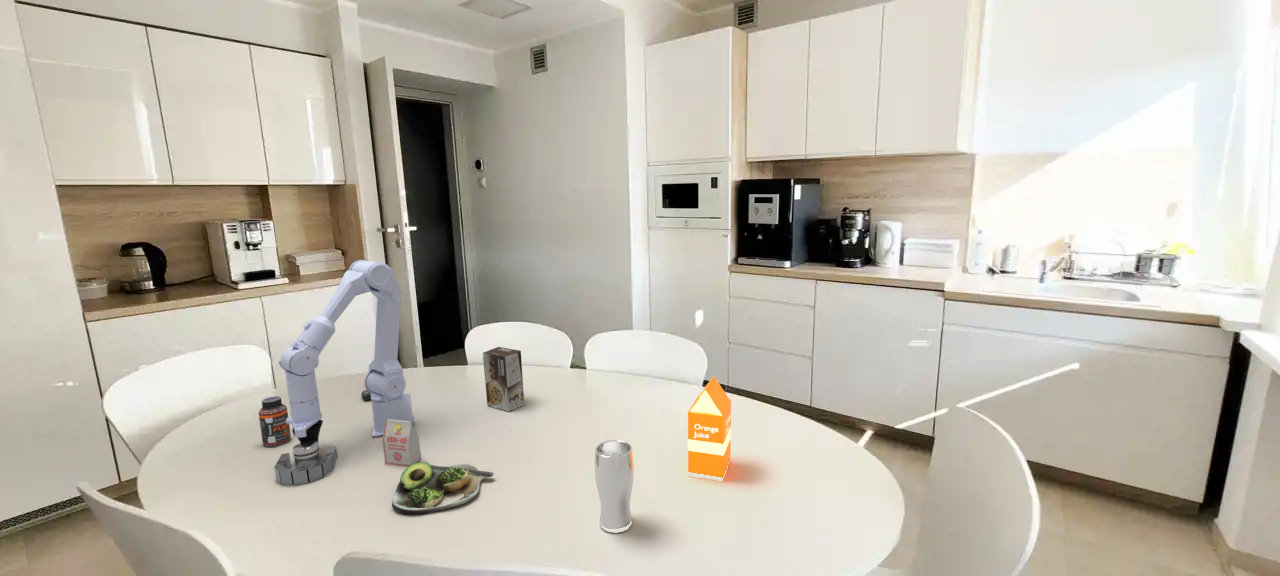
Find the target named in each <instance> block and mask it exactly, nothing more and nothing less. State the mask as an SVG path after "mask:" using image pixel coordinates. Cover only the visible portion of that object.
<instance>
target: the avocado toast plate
mask: <svg viewBox="0 0 1280 576" xmlns="http://www.w3.org/2000/svg"><path fill="white" fill-rule="evenodd" d="M493 476H494V472H493V471H492V472H491V471H484V470H479V469H478V468H477V467H476V466H475V465H471V464H470V463H460V464H459V463H458V464H451V465H446V466H445V465H444V466H443V465H441V466H440V465H433V464H429V463H428V462H424V461H418V462H417V463H414V464H412V465H410V466H406V468H405V469H404V470H403V471H402V473H401V475H400V481H399V482H398V483H397V486H396V489H395V493H394V496H393V498H392V501H391V507H392V508H393V509H394V510H395V511H397V512H398V513H402V514H404V515H420V514H426V513H427V514H428V513H432V511H433V512H438V511H442V510H446V509H450V508H454V507H458V506H461V505H464V504H465V503H468V502H469V501H471V500H472V499H474V498H475V497H476V496H477V495H478V493H479V490H480V487H481V486H480V485H481V482H482V481H483V480H485V479H488V478H492V477H493ZM459 491H460V492H459ZM454 493H456V494H458V493H462V495H463V494H464V495H463V496H462V497H461V498H459V499H458V501H457V500H456V501H454V502H450V503H448V504H444V505H440V506H437V505H438V504H439V503H440V502H441V501H442V498H443V497H444V496H445V497H447V496H450V495H453V494H454ZM449 494H450V495H449ZM445 497H444V498H445ZM444 498H443V499H444ZM437 503H438V504H437Z"/></svg>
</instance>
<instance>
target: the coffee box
mask: <svg viewBox="0 0 1280 576" xmlns="http://www.w3.org/2000/svg"><path fill="white" fill-rule="evenodd" d="M482 361H483V369H484V371H483V372H484V382H485V393H486V405H489V406H492V407H491V408H493V407H496V408H495V409H497V408H499V409H498V410H500V409H503V410H502V411H504V410H506V412H508V411H510V412H512V411H514V410H516V409H518V408H517V407H519V406H521V407H522V405H523V404H524V405H525V392H524V379H523V365H522V362H523V361H522V351H521V350H520V349H519V350H518V349H513V348H508V347H507V348H506V347H502V346H497V347H495V348H494V347H493V348H492V349H488V350H487V351H484V352H482ZM524 405H523V406H524ZM489 406H488V407H489ZM519 408H520V407H519ZM513 409H514V410H513ZM511 410H512V411H511Z"/></svg>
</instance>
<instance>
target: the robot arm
mask: <svg viewBox="0 0 1280 576" xmlns="http://www.w3.org/2000/svg"><path fill="white" fill-rule="evenodd" d="M367 293H371V294H372V295H373V296H374V297H376V300H377V301H376V316H375V317H376V320H375V321H376V322H375V333H374V334H375V339H374V352H373V353H374V356H373V360H372V361H371V362H370V363H369V364H368V371H367V374H366V375H365V377H364V387H365V390H369V391H370V392H371V399H370V401H371V409H372V419H373V428H372V429H373V430H372V433H371V437H373V438H375V437H381V436H382V437H383V434H384V429H385V420H387V419H391V420H400V421H410V422H412V423H413V424H414V420H415V417H414V413H413V405H412V404H413V403H412V397H411V393H409V392H408V393H405V389H406V385H407V384H406V379H405V378H404V377H405V376H404V368H403V367H402V365H401V363H400V361H399V360H398V355H399V354H398V353H399V339H400V338H399V337H400V335H399V334H400V320H401V319H400V317H401V302H402V301H401V300H402V290H401V288H400V286H399V284H398V281H397V279H396V272H395V270H394V269H393V268H391V267H390V266H389V265H388V264H387V263H385V262H381V261H369V260H365V259H358V260H356V261H354V262H353V263H351V265H350V266H349V269H348V270H346V272H345V273H344V274H343V277H342V279H341V282H340V283H339V285H338V287H337V288H336V289H335V291H334V293H333V294H332V296H331V298H330V299H329V301H328V302H327V304H326V305H325V308H324V309H323V311H322V312H321V313H320V315H318V316H317V317H313V318H311V319H310V320H309V321H305V322H304V324H303V327H304V329H303V330H302V331H301V332H300V334H299V335H298V336H297V338H296V340H295V341H292V342H291V343H290V346H291V347H288V348H286V349H285V350H284V351H283V352H282V353H281V355H280V360H278V365H279V367H280V368H281V369H283V370H284V371H285V380H286V389H287V395H288V401H289V407H290V408H289V410H290V415H291V417H288V418H287V420H286V423H287V424H289V425H290V424H291V425H292V427H293V428H292V430H291V431H292V434H293V435H294V437H295V439H298V441H299V443H302V442H306V441H317V442H318V443H319V437H320V431H321V429H322V426H323V423H324V421H323V419H322V418H323V414H322V411H321V406H320V398H319V391H318V385H317V377H316V369H317V368H318V367H319V363H320V361H319V360H320V359H319V356H320V354H321V352H322V351H323V350H324V348H325V347H326V346H327V344H328V342H330V340H331V338H332V337H333V336H334V334H335V332H336V326H335V323H336V322H337V320H338V319H339V318H340V317H341V315H342V314H343V313H344V312H345V310H346V309H347V308H348V307H349V305H350V304H351V303H352V302H353V300H354V299H355V298H356V297H357V296H359V295H364V294H367Z"/></svg>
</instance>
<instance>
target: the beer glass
mask: <svg viewBox="0 0 1280 576" xmlns="http://www.w3.org/2000/svg"><path fill="white" fill-rule="evenodd" d="M594 451H595V455H594V476H595V482H596V488H597V493H598V497H599V501H600V516H599V522H600V523H601V525H602V526H604V527H605V528H608V529H619V528H623V527H626V526H627V525H629V524H630V522H631V521H632V522H633V516H632V513H631V512H632V511H631V499H632V498H631V495H632V490H633V484H634V477H635V476H634V456H633V446H632V444H630V443H629V442H627V441H624V440H621V439H620V440H618V439H613V440H612V439H610V440H606V441H602V442H600V443H599V444H597V445H596V447H595V449H594Z"/></svg>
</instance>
